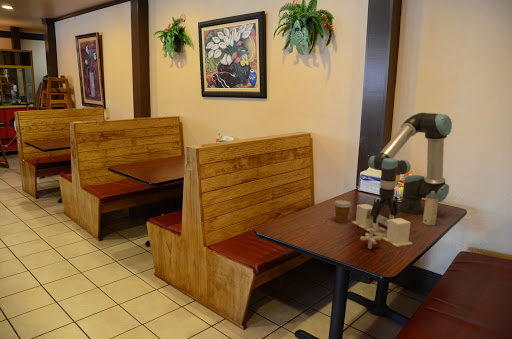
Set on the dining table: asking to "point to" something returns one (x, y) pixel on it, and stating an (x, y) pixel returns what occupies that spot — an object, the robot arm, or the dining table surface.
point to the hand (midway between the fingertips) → (382, 227)
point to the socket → (398, 230)
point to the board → (381, 234)
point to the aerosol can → (430, 209)
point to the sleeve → (364, 215)
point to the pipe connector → (370, 238)
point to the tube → (381, 219)
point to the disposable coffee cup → (342, 210)
